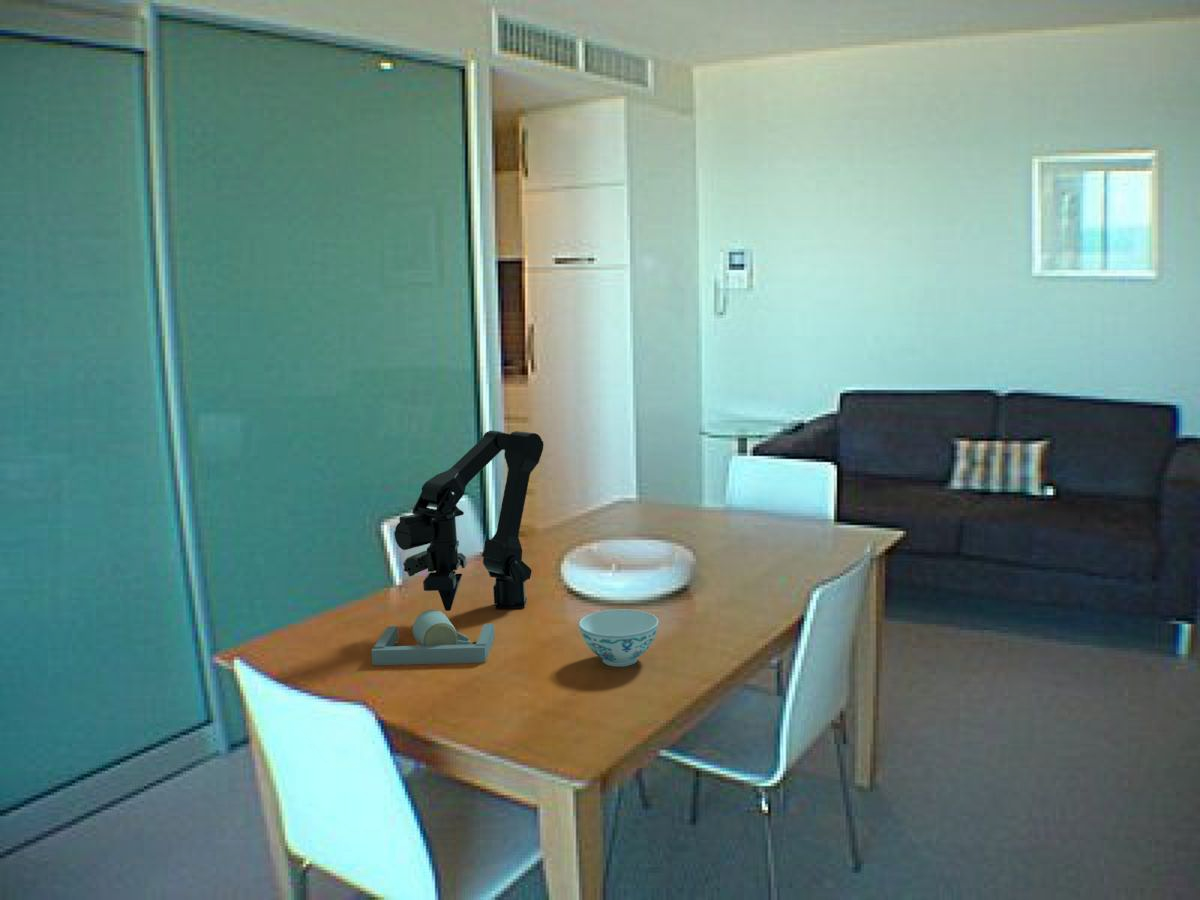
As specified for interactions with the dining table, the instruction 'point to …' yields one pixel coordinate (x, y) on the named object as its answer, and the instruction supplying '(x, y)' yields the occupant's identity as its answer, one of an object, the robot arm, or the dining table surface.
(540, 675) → the dining table surface
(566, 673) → the dining table surface
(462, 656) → the mug dock
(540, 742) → the dining table surface
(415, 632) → the ceramic mug
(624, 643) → the chinaware
